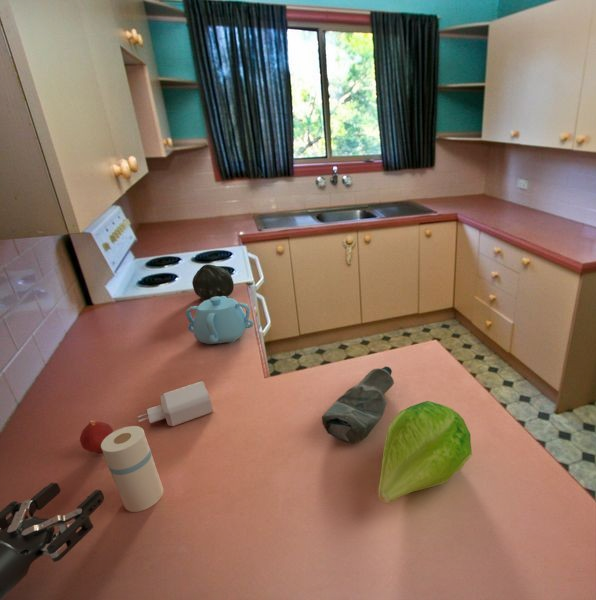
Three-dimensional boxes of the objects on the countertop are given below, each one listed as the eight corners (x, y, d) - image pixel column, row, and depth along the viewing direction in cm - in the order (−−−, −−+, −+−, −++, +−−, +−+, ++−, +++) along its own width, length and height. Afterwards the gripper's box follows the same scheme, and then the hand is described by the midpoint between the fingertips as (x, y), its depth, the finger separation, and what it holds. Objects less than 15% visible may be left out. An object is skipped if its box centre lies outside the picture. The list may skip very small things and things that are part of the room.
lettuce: (430, 550, 70) (366, 510, 80) (494, 450, 84) (432, 426, 94) (406, 494, 63) (339, 457, 73) (480, 395, 77) (415, 375, 87)
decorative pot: (208, 355, 126) (198, 314, 121) (187, 337, 136) (177, 298, 131) (258, 336, 137) (252, 297, 131) (235, 320, 147) (228, 284, 141)
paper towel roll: (115, 509, 77) (90, 449, 71) (142, 481, 82) (121, 423, 77) (146, 515, 75) (124, 453, 70) (171, 486, 81) (152, 427, 76)
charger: (138, 417, 100) (206, 394, 108) (142, 439, 93) (214, 413, 101) (133, 400, 98) (202, 379, 106) (136, 422, 91) (210, 397, 99)
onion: (84, 450, 90) (71, 420, 87) (114, 437, 94) (103, 407, 91) (89, 465, 87) (76, 434, 83) (121, 450, 90) (110, 420, 87)
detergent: (364, 454, 87) (414, 386, 107) (359, 425, 84) (411, 362, 105) (313, 439, 93) (369, 378, 113) (306, 413, 90) (365, 355, 111)
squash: (230, 273, 176) (200, 253, 165) (246, 283, 166) (216, 262, 155) (209, 301, 174) (177, 282, 163) (224, 313, 164) (191, 294, 153)
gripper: (-60, 597, 58) (51, 500, 72) (25, 618, 55) (122, 512, 70) (-87, 560, 55) (35, 466, 69) (1, 580, 52) (109, 478, 67)
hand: (79, 489), depth 69 cm, fingers open, 8 cm apart
